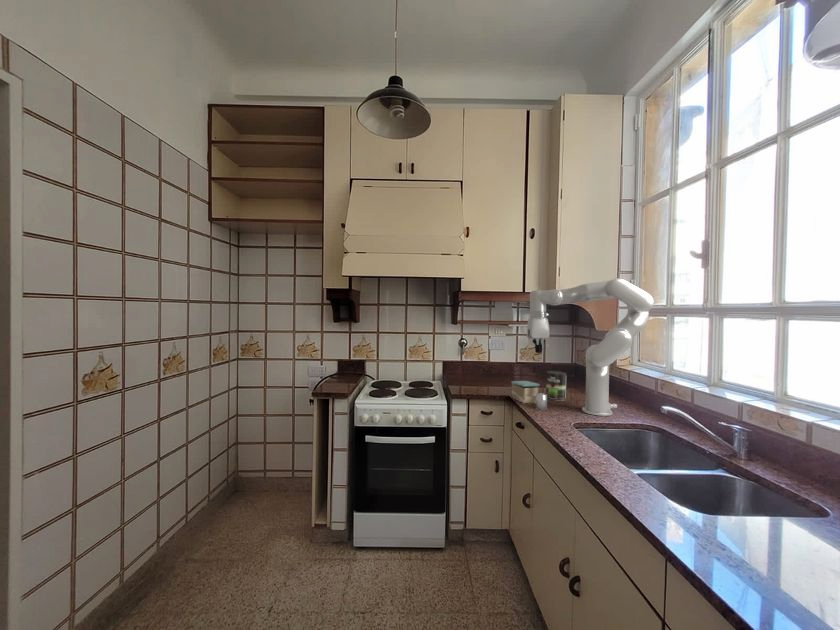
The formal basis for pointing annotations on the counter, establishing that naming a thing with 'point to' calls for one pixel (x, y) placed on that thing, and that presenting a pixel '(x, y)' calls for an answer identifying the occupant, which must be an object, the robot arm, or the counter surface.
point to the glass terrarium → (556, 384)
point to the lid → (525, 383)
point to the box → (525, 393)
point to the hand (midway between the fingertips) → (538, 352)
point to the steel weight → (541, 400)
